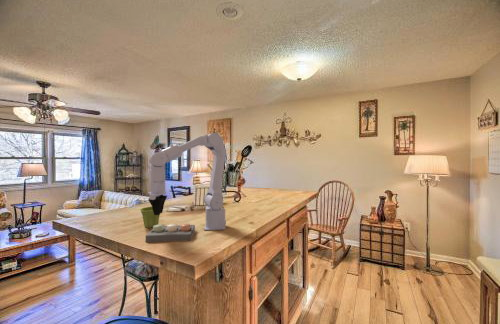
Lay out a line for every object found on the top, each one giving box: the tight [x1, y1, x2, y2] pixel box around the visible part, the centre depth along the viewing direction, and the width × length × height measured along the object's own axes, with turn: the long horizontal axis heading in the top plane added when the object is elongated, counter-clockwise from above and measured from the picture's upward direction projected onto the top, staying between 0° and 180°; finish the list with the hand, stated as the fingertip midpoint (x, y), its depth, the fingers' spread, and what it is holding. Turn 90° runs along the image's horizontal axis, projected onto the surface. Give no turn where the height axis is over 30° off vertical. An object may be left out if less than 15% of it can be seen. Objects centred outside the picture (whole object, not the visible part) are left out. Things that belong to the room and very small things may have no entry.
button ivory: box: [166, 223, 178, 232], centre depth 95 cm, size 4×4×3 cm
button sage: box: [152, 223, 165, 232], centre depth 94 cm, size 4×4×3 cm
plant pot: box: [139, 206, 160, 229], centre depth 108 cm, size 9×9×9 cm
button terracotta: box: [179, 223, 191, 232], centre depth 95 cm, size 4×4×3 cm
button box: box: [145, 224, 196, 243], centre depth 95 cm, size 17×12×3 cm
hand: (158, 214), depth 94 cm, fingers open, 2 cm apart
